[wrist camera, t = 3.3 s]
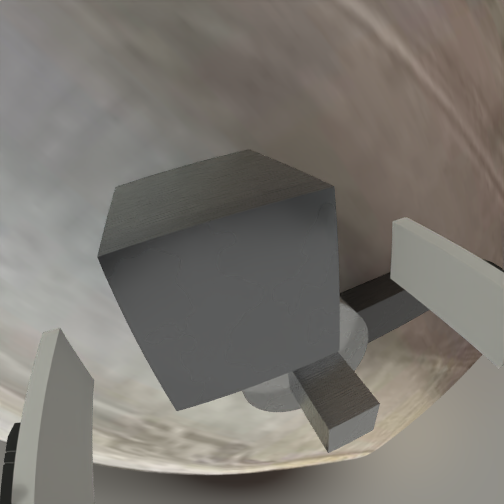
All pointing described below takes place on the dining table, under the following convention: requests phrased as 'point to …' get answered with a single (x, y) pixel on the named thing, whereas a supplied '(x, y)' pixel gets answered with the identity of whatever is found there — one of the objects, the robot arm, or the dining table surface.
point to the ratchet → (342, 366)
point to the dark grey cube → (225, 272)
